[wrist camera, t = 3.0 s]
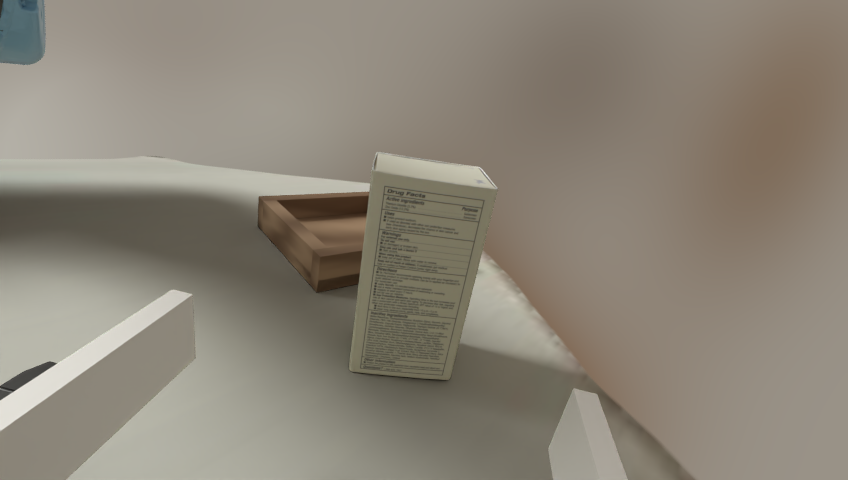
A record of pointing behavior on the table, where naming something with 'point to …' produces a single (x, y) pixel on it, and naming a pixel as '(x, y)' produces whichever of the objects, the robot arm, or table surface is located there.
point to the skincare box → (418, 265)
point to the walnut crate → (318, 234)
